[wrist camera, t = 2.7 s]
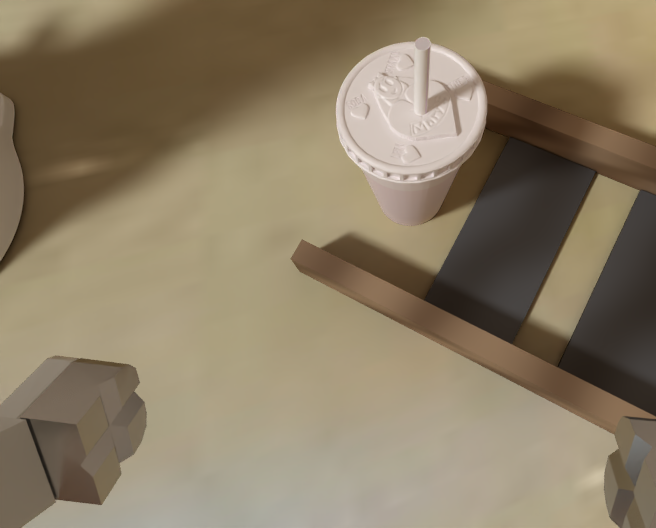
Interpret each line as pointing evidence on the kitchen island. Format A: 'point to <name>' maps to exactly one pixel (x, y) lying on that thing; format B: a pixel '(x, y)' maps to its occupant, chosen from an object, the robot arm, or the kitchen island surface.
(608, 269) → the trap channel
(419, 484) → the kitchen island surface
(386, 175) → the smoothie
